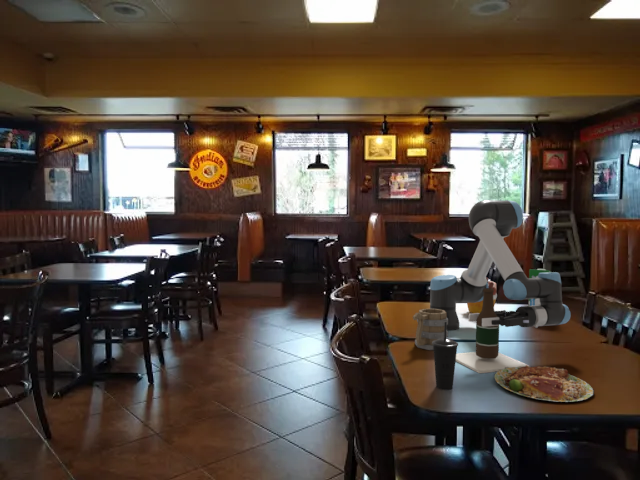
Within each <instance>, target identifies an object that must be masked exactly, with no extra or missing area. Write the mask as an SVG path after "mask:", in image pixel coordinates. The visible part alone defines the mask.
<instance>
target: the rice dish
mask: <svg viewBox="0 0 640 480" xmlns="http://www.w3.org/2000/svg"><path fill="white" fill-rule="evenodd" d="M527 365H528V364H527ZM527 365H526V366H525V367H510V368H509V367H505V369H502V370H499V371H498V372H494V380H495V382H496V383H497V384H499V386H501V387H502V389H505V390H506V391H510V392H512V393H514V394H517V395H518V396H522V397H527V398H528V399H533V400H537V401H539V400H541V401H548V402H554V403H559V402H560V403H562V402H565V403H575V402H582V401H587V400H589V399H591V398H592V397H593V396H594V395H595V389H594V388H593V387H592V386H591V385H590V384H589V383H588V382H586V381H585V380H583V379H581V378H579V377H576V376H574V375H571V374H570V373H569V371H568V370H567V369H564V368H556V367H551V366H544V365H543V366H541V365H537V366H530V365H529V366H530V367H529V366H527Z"/></svg>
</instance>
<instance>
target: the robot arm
mask: <svg viewBox="0 0 640 480" xmlns="http://www.w3.org/2000/svg"><path fill="white" fill-rule="evenodd" d="M523 219H524V214H523V209H522V207H521V205H520V203H518V202H517V201H515V200H508V199H506V200H494V199H493V200H489V199H485V200H480V201H478V202H477V203H475V204H474V205H473V206H472V207H471V209H470V211H469V213H468V223H469V228H470V230H471V231H472V233H473V235H475V236H476V237H478V238H479V242H478V244H477V247H476V249H475V252H474V254H473V257H472V258H471V261H470V263H469V265H468V268H467V269H465V270H463V271H462V273H461V274H460V277H457V276H456V275H453V274H446V275H445V274H443V275H437V276H434V277H432V278H431V279H430V284H429V285H430V286H429V290H430V291H429V293H430V294H429V295H430V296H429V309H440V310H444V311H445V312H446V313H447V318H448V325H447V331H452V330H459V328H460V320H459V317H458V313H457V310H456V309H457V308H456V307H457V304H467V303H475V302H480V301H482V300H483V295H484V292H483V289H484V288H488V283H487V279H486V277H487V275H488V273H489V270H490V269H491V266H492V265H493V264H494V266H495V268H496V269H497V270H498V272H499V274H500V276H501V277H502V279H503V280H504V282H503V285H502V290H503V294H504V296H505V297H506V298H507V299H508V300H514V301H523V300H529V299H539V298H540V305H534V306H528V305H524V306H519V307H517V308H516V309H515V310H509V311H507V310H505V309H504V310H494V312H495V313H496V315H497V316H498V317H496V318H482V326H483V327H486V326H499V327H503V326H505V327H506V328H508V327H517V326H518V327H521V328H532V327H534V328H535V329H537V328H538V327H545V326H546V327H547V326H559V325H564V324H567V323H568V322H569V321H570V320H571V314H572V313H571V311H570V309H569V307H568V305H566V304H564V303H563V295H562V294H563V293H562V279H561V274H560V273H559V272H556V271H555V272H554V271H553V272H552V271H550V272H547V273H539V274H538V278H529V277H527V275H526V274H525V272H524V270H523V269H522V267H521V265H520V264H519V263H518V261H517V259H516V257H515V255H514V254H513V252H512V251H511V249H510V248H509V246H508V244H507V243H506V241H505V240H504V238H506V237H509V236H510V234H511V233H512V230H513V229H517V228H520V227H521V225H522V224H523V221H524V220H523ZM479 314H480V313H475V314H473V313H468V322H469V323H473V322H477V318H478V315H479Z"/></svg>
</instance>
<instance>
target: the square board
mask: <svg viewBox="0 0 640 480" xmlns="http://www.w3.org/2000/svg"><path fill="white" fill-rule="evenodd" d="M456 362H457V363H459V364H460V365H463V366H464V367H466V368H468V369H470V370H472V371H474V372H476V373H478V374H488V373H497V372H498V371H499V370H502V369H505V367H509V368H510V367H525V366H526V365H527V366H529V367H531V365H528V364H527V363H524V362H522V361H519V360H518V359H515V358H512V357H510V356H508V355H506V354H503V353H501V352H498V357H496V358H493V359H487V358H481V357H479V356H477V355H476V351H471V352H470V351H469V352H460V353H459V352H458V353H456ZM456 362H455V363H456Z"/></svg>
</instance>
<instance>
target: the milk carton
mask: <svg viewBox="0 0 640 480" xmlns="http://www.w3.org/2000/svg"><path fill="white" fill-rule="evenodd" d="M547 272H551V270H548V269H545V268H537V269H534V268H533V269H531V268H530V269H529V271H528V273H529V275H528V278H538V274H539V273H547ZM534 305H540V298H539V299H528V305H527V306H534Z"/></svg>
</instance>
